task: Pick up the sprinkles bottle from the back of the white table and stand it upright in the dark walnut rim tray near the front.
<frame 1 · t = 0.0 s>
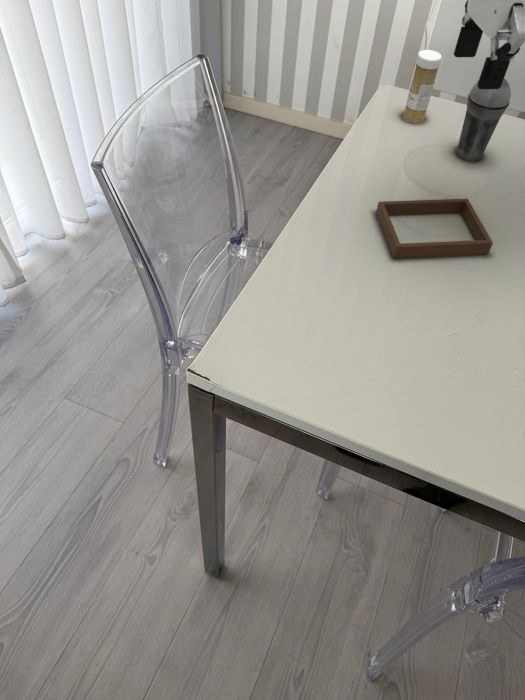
hand: (475, 71, 80), 24 cm above the table, tool pointing down, fingers open, 9 cm apart
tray: (428, 236, 94), on the table
sprinkles bottle: (412, 122, 118), on the table
beverage cup: (467, 158, 110), on the table
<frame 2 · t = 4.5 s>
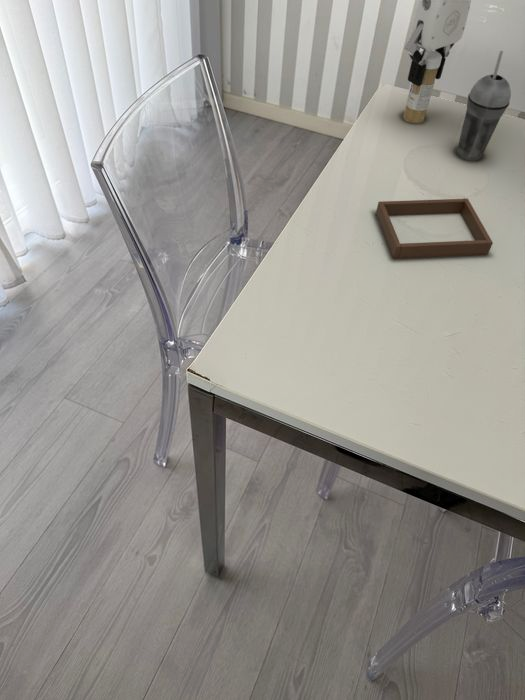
hand: (424, 78, 111), 9 cm above the table, tool pointing down, fingers closed on sprinkles bottle, 4 cm apart
sprinkles bottle: (412, 122, 118), on the table, touching gripper
everything else where it was.
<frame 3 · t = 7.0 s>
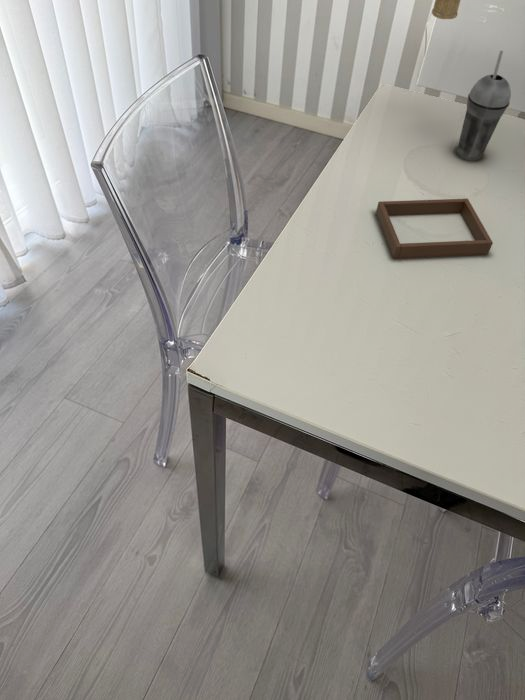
sprinkles bottle: (443, 16, 101), point 20 cm above the table, touching gripper
everything else where it was.
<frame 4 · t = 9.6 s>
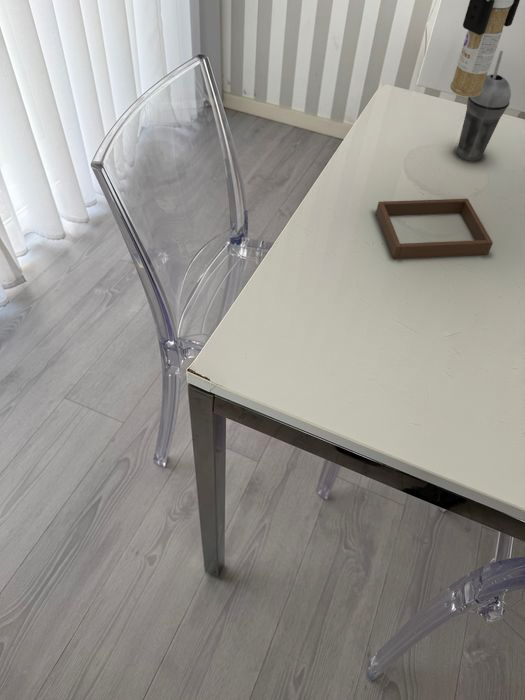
hand: (487, 25, 74), 30 cm above the table, tool pointing down, fingers closed on sprinkles bottle, 4 cm apart
sprinkles bottle: (465, 92, 81), point 21 cm above the table, touching gripper
everything else where it was.
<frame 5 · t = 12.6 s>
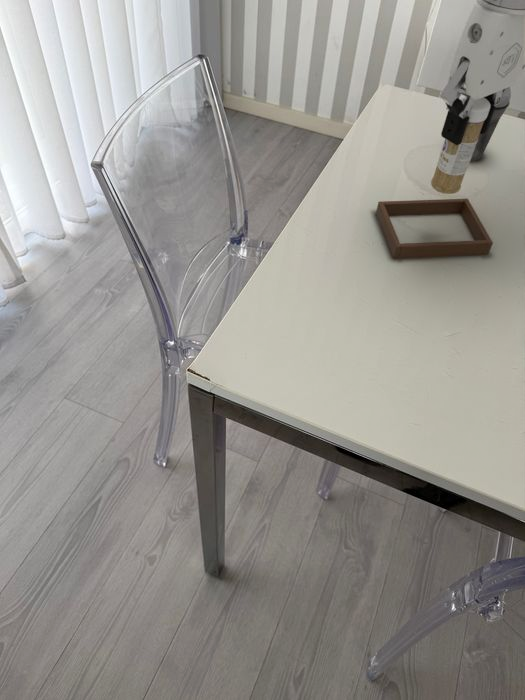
hand: (463, 133, 80), 18 cm above the table, tool pointing down, fingers closed on sprinkles bottle, 4 cm apart
sprinkles bottle: (444, 187, 87), point 9 cm above the table, touching gripper
everything else where it was.
when the fingers open (9 cm above the table, at t = 15.0 s): sprinkles bottle stays where it is, resting on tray.
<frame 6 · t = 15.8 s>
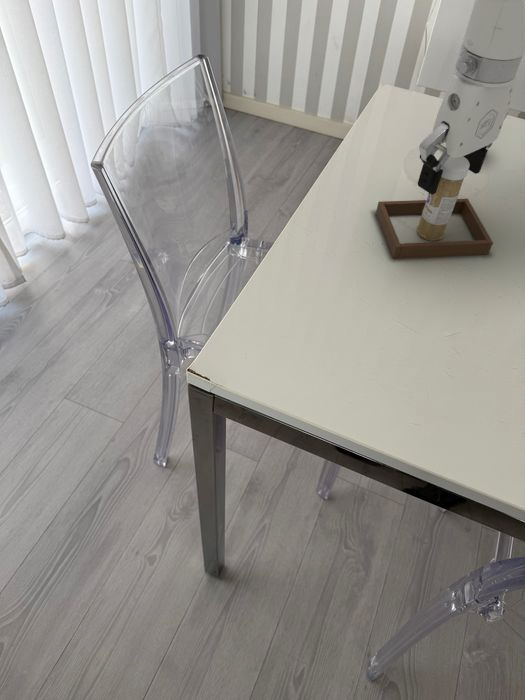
hand: (448, 179, 85), 11 cm above the table, tool pointing down, fingers open, 9 cm apart
sprinkles bottle: (429, 234, 94), resting on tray
everything else where it was.
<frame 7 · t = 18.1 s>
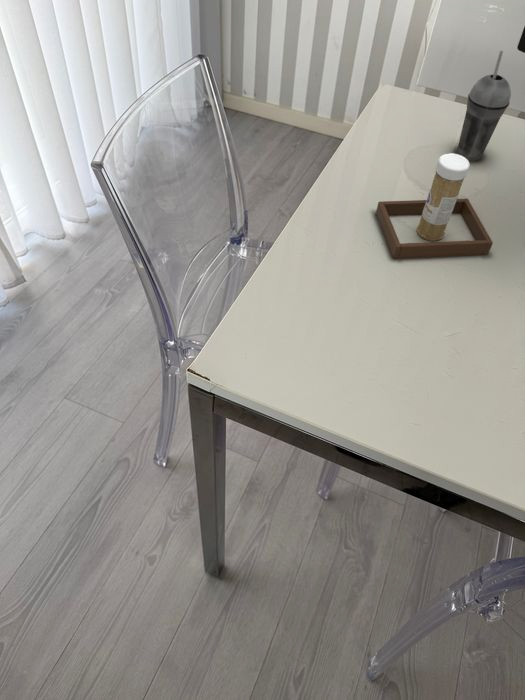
nothing on the table moved.
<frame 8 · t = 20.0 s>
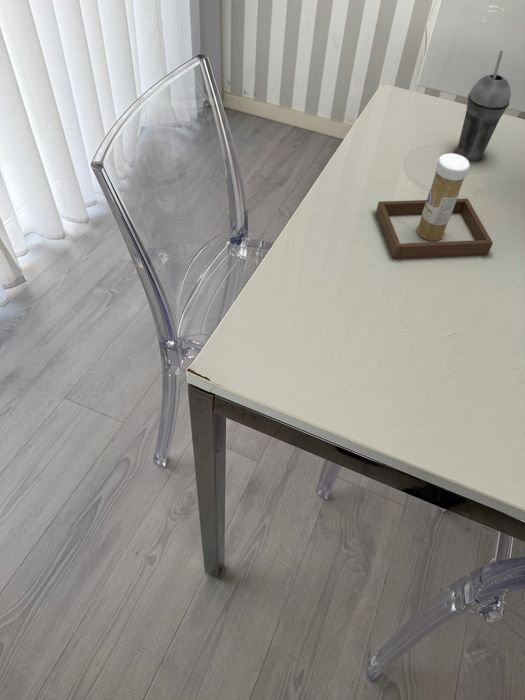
nothing on the table moved.
at the end: sprinkles bottle inside the target area in the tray (0.1 cm from its centre), point 0.4 cm above the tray's base; sprinkles bottle tilted 0°; the gripper is holding nothing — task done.
